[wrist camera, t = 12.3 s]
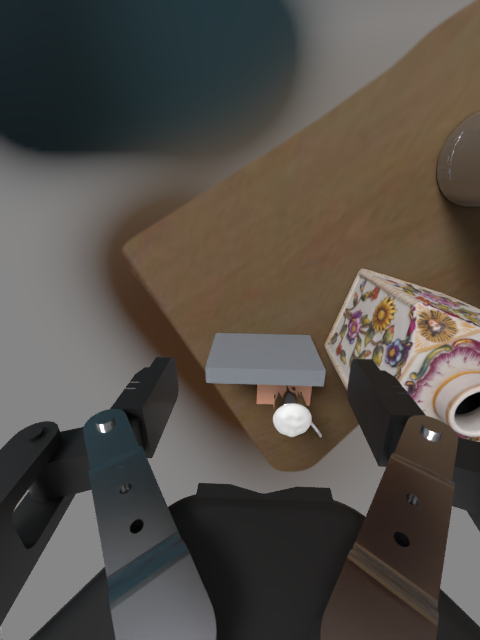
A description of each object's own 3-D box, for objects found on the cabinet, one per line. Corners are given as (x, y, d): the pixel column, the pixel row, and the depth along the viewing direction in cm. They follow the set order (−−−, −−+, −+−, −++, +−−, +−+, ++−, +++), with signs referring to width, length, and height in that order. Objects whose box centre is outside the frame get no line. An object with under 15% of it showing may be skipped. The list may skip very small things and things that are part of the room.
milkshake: (301, 396, 41) (316, 451, 32) (266, 390, 41) (270, 444, 32) (309, 370, 39) (327, 420, 30) (272, 364, 39) (278, 413, 30)
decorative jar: (320, 345, 38) (372, 450, 22) (357, 265, 34) (457, 320, 17) (399, 368, 39) (507, 486, 22) (444, 293, 35) (621, 370, 18)
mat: (314, 357, 39) (315, 359, 38) (308, 403, 42) (309, 405, 41) (258, 355, 39) (258, 358, 39) (256, 401, 42) (256, 403, 42)
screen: (309, 335, 38) (325, 370, 29) (308, 347, 38) (323, 386, 30) (215, 332, 38) (205, 367, 30) (216, 345, 39) (206, 382, 31)
